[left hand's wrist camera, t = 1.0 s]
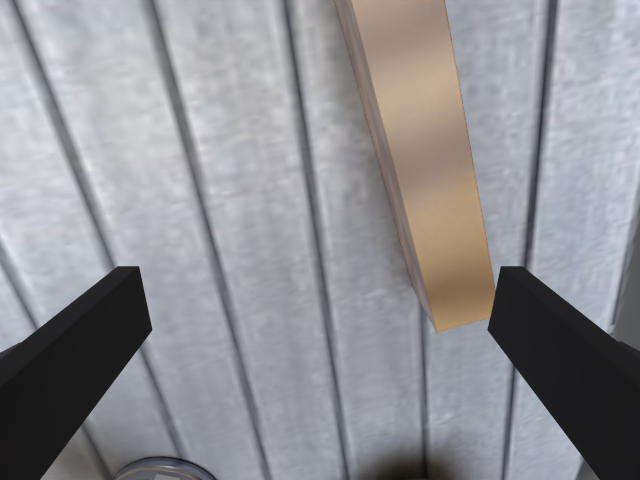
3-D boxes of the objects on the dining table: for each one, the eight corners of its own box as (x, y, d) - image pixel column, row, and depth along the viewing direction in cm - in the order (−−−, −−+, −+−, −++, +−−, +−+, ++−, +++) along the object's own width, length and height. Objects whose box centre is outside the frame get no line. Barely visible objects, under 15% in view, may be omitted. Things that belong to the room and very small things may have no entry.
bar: (462, 272, 36) (500, 315, 28) (412, 286, 36) (436, 332, 29) (396, -40, 26) (427, -99, 19) (330, -13, 27) (335, -60, 19)
